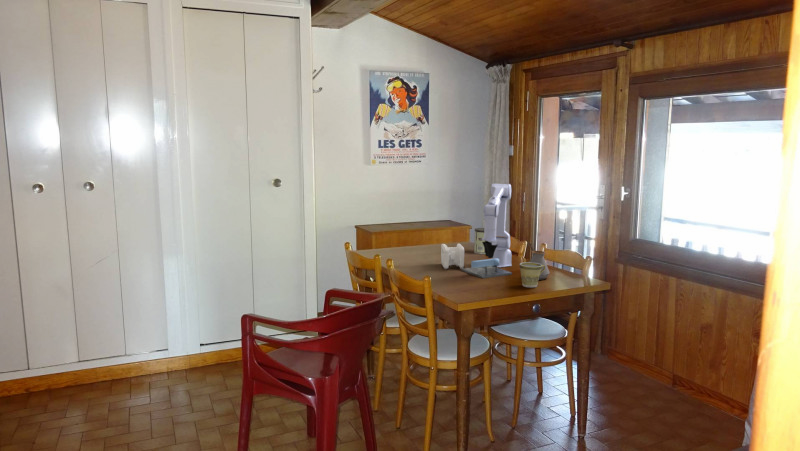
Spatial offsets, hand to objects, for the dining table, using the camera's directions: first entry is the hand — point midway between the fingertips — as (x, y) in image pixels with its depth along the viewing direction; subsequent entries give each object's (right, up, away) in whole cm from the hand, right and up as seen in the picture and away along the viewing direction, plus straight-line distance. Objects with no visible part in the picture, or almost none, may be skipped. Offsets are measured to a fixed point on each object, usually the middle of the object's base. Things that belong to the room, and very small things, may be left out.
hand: (489, 257), depth 271 cm
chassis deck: (0, -8, +11) cm, 14 cm away
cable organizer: (-16, -7, +22) cm, 28 cm away
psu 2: (-5, -9, +6) cm, 12 cm away
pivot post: (+5, -8, +11) cm, 14 cm away
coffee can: (+6, -1, +62) cm, 62 cm away
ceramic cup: (+18, -13, -14) cm, 26 cm away
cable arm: (-1, -5, +7) cm, 9 cm away
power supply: (+1, -9, +9) cm, 12 cm away
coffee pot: (+23, -10, +6) cm, 26 cm away
